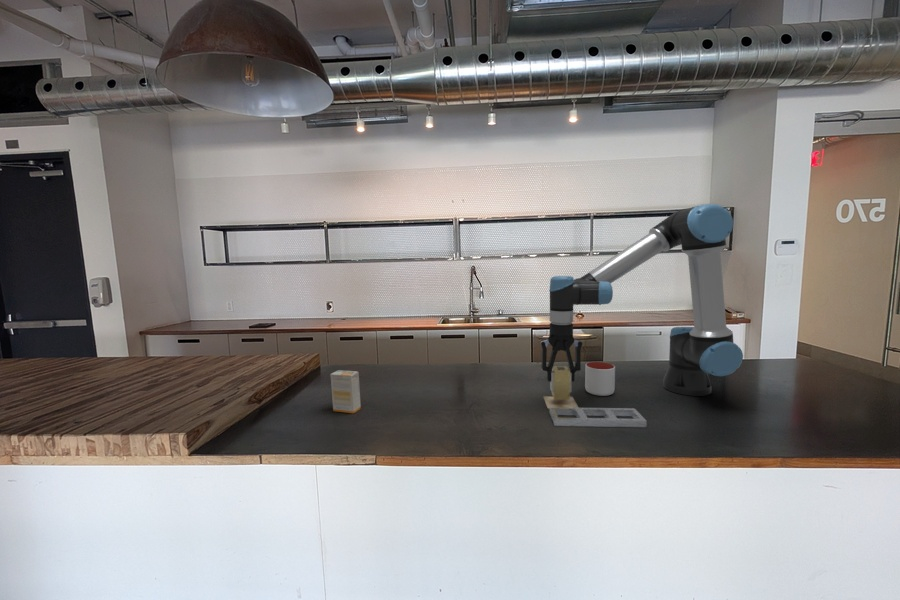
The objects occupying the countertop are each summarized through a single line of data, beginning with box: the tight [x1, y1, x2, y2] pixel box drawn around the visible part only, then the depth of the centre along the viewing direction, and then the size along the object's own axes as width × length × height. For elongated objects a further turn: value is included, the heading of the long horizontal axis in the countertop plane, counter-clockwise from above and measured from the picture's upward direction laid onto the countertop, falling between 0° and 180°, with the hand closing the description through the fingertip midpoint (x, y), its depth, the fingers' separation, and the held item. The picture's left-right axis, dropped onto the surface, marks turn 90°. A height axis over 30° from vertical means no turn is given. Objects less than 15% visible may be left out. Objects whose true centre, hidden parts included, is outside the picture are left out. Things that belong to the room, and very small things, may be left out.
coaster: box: [542, 396, 580, 410], centre depth 129 cm, size 10×10×1 cm
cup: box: [584, 361, 616, 397], centre depth 138 cm, size 10×10×10 cm
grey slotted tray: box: [549, 407, 648, 428], centre depth 115 cm, size 26×9×2 cm, turn 85°
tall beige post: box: [551, 365, 571, 400], centre depth 128 cm, size 5×5×10 cm
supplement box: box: [330, 369, 362, 414], centre depth 127 cm, size 8×5×13 cm, turn 71°
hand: (560, 390), depth 128 cm, fingers closed on tall beige post, 5 cm apart
